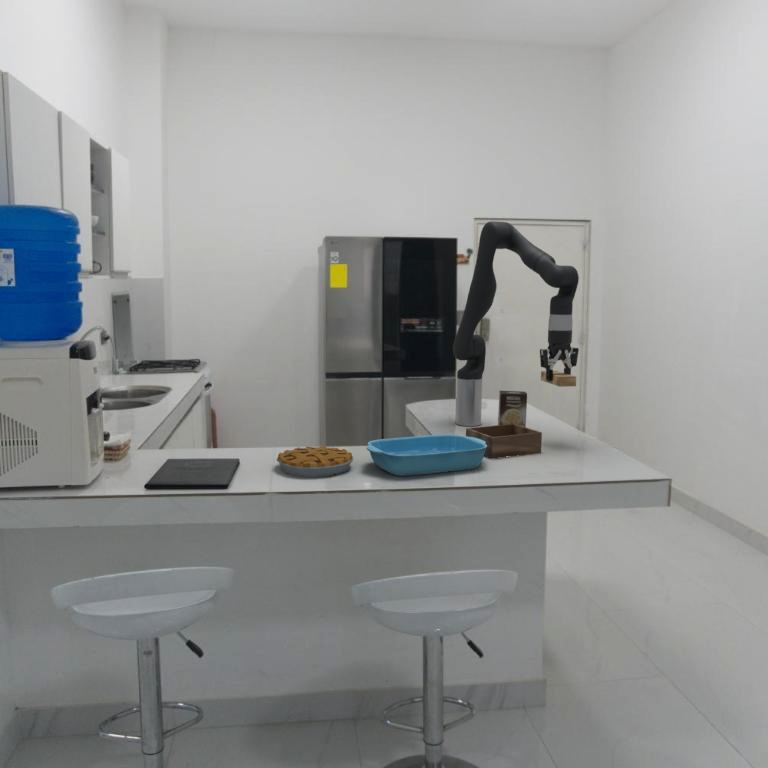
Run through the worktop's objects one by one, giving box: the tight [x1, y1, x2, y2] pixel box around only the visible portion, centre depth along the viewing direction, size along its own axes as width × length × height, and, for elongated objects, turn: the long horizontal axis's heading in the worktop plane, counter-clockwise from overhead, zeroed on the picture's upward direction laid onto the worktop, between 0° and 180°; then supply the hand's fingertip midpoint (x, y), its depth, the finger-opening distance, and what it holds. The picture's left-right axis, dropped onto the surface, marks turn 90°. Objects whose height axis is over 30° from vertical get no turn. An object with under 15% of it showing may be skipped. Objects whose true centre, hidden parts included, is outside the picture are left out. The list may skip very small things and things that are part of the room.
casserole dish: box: [366, 433, 487, 477], centre depth 216 cm, size 37×22×7 cm, turn 114°
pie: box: [276, 445, 354, 478], centre depth 213 cm, size 22×22×5 cm
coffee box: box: [497, 390, 528, 428], centre depth 251 cm, size 9×6×16 cm
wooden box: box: [465, 424, 543, 459], centre depth 235 cm, size 15×18×6 cm
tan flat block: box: [540, 370, 577, 388], centre depth 240 cm, size 14×6×3 cm, turn 13°
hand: (558, 380), depth 240 cm, fingers closed on tan flat block, 6 cm apart
